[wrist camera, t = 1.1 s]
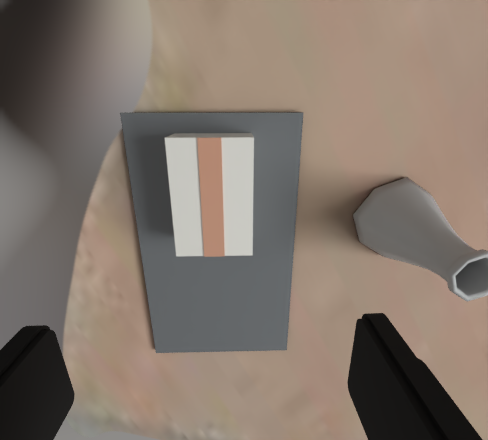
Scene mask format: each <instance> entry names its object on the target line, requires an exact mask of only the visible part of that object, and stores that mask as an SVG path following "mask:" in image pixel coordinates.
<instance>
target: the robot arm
mask: <svg viewBox="0 0 488 440" xmlns="http://www.w3.org/2000/svg"><path fill="white" fill-rule="evenodd" d="M348 389H349V393H350V396H351V398H352V401H353V403H354V406H355V408H356V411H357V413H358V416H359V418H360V420H361V423H362V425H363V428H364V430H365V433H366V435H367V438H368V440H482V439H481V437H480V436H479V435H478V433H477V432H476V431H475V429H474V428H473V427H472V425H471V424H470V423H469V421H468V420H467V419H466V417H465V416H464V415H463V413H462V412H461V411H460V409H459V408H458V407H457V405H456V404H455V403H454V401H453V400H452V399H451V397H450V396H449V395H448V393H447V392H446V391H445V389H444V388H443V387H442V385H441V384H440V383H439V381H438V380H437V379H436V377H435V376H434V375H433V373H432V372H431V371H430V369H429V368H428V367H427V365H426V364H425V363H424V362H423V361H422V360H420V359H418V358H417V357H416V356H415V355H414V353H413V352H412V350H411V349H410V348H409V346H408V345H407V344H406V342H405V341H404V340H403V338H402V337H401V336H400V334H399V333H398V331H397V330H396V329H395V327H394V326H393V325H392V323H391V322H390V321H389V319H388V318H387V317H386V315H385V314H383V313H373V314H363V316H362V319H358V320H357V323H356V330H355V336H354V343H353V350H352V356H351V363H350V370H349V376H348ZM73 401H74V390H73V387H72V384H71V381H70V378H69V375H68V372H67V369H66V365H65V362H64V359H63V356H62V353H61V350H60V347H59V344H58V340H57V337H56V334H55V332H54V331H53V330H50V328H49V327H48V326H44V325H43V326H26V327H23V328H22V329H21V330H20V331H19V332H18V333H17V334H16V335H15V336H14V337H13V338H12V339H11V340H10V341H9V342H8V343H7V344H6V345H5V346H4V347H3V348H2V349H1V350H0V440H53V439H54V437H55V436H56V434H57V432H58V430H59V428H60V426H61V425H62V423H63V421H64V419H65V417H66V416H67V414H68V412H69V410H70V408H71V406H72V404H73Z"/></svg>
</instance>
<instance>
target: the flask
mask: <svg viewBox="0 0 488 440" xmlns="http://www.w3.org/2000/svg"><path fill="white" fill-rule="evenodd" d="M353 218H354V221H355V225H356V229H357V233H358V237H359V241H360V242H361V243H362V244H364V245H365V246H367V247H369V248H370V249H372V250H373V251H375V252H377V253H378V254H380V255H381V256H384V257H387V258H390V259H394V260H399V261H403V262H406V263H409V264H413V265H416V266H419V267H422V268H425V269H428V270H430V271H432V272H434V273H436V274H438V275H440V276H441V277H442V278H443V279H445V280H446V281H447V283H448V288H449V290H450V291H451V292H453V293H454V294H456V295H458V296H459V297H461V298H462V299H464V300H465V301H470V300H474V299H477V298H480V297H484V296H487V295H488V251H487V250H483V249H482V250H478V251H477V250H475V249H473V248H471V247H470V246H469V245H468V244H467V243H465V242H464V241H463V240H462V239H461V238H460V237H459V236H458V235H457V234H456V232H455V231H454V229H453V228H452V227H451V225H450V224H449V222H448V221H447V219H446V218H445V216H444V215H443V213H442V212H441V210H440V208H439V207H438V205H437V203H436V201H435V200H434V198H433V197H432V195H431V194H430V193H428V192H427V191H426V190H424V189H423V188H422V187H420V186H419V185H417V184H416V183H415V182H413V181H412V180H410V179H409V178H408V177H406V178H403V179H400V180H398V181H395V182H392V183H389V184H386V185H383V186H381V187H378V188H375V189H374V190H373V191H372V192H371V193H370V195H369V196H368V197H367V198H366V200H365V201H364V202H363V203H362V204H361V206H360V207H359V208H358V209H357V211H356V212H355V213H354V214H353Z"/></svg>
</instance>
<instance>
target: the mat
mask: <svg viewBox="0 0 488 440" xmlns="http://www.w3.org/2000/svg"><path fill="white" fill-rule="evenodd" d="M120 115H121V121H122V128H123V135H124V142H125V148H126V155H127V162H128V168H129V175H130V182H131V189H132V195H133V202H134V209H135V216H136V222H137V229H138V236H139V242H140V249H141V256H142V263H143V269H144V276H145V283H146V290H147V296H148V303H149V310H150V316H151V323H152V330H153V337H154V343H155V350H156V353H173V352H220V351H267V350H287V337H288V323H289V309H290V294H291V280H292V266H293V252H294V238H295V223H296V209H297V195H298V181H299V166H300V152H301V138H302V124H303V113H120ZM174 133H252V135H253V137H254V179H253V255H250V256H221V257H204V256H176V249H175V239H174V229H173V218H172V208H171V198H170V188H169V178H168V168H167V158H166V147H165V137H167V136H170V135H172V134H174Z"/></svg>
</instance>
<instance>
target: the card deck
mask: <svg viewBox="0 0 488 440" xmlns="http://www.w3.org/2000/svg"><path fill="white" fill-rule="evenodd" d="M165 147H166V158H167V168H168V178H169V188H170V198H171V208H172V218H173V229H174V239H175V249H176V256H204V257H221V256H250V255H253V179H254V137H253V135H252V133H174V134H172V135H170V136H167V137H165Z"/></svg>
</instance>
